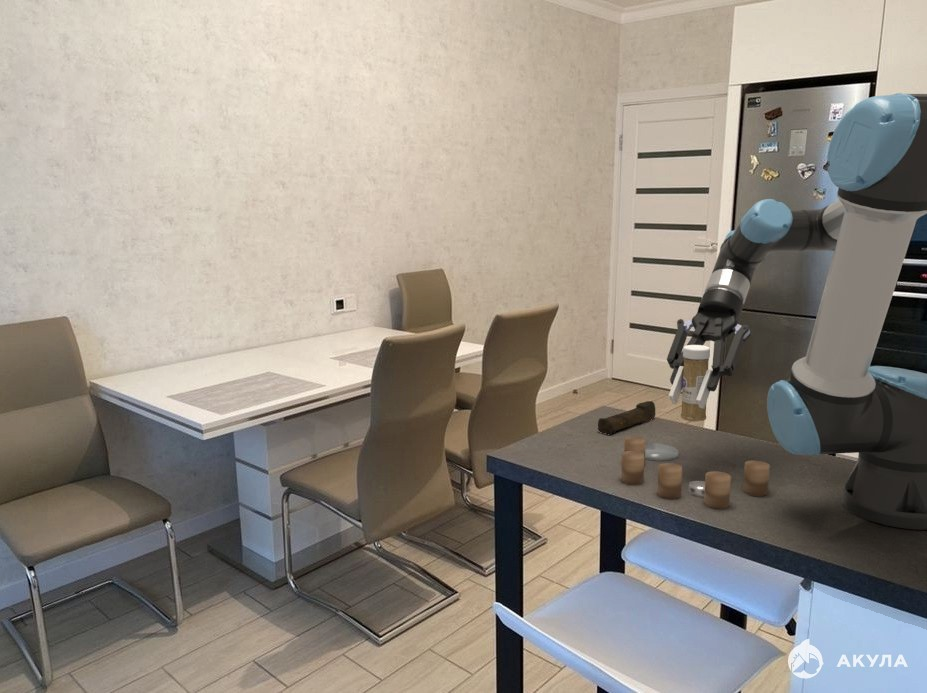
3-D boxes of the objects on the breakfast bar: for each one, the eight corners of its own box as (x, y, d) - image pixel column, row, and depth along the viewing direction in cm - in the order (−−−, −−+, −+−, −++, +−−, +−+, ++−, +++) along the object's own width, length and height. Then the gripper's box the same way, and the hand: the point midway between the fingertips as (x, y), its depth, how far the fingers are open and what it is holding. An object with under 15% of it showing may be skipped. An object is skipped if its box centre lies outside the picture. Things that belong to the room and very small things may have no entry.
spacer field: (772, 492, 123) (774, 465, 122) (700, 517, 114) (702, 488, 113) (662, 451, 145) (663, 428, 144) (594, 469, 136) (595, 444, 135)
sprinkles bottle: (675, 416, 131) (678, 345, 128) (696, 414, 132) (699, 343, 129) (690, 423, 126) (693, 349, 124) (712, 420, 128) (715, 347, 125)
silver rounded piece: (715, 492, 124) (716, 484, 124) (707, 500, 121) (707, 491, 121) (693, 487, 127) (693, 479, 127) (684, 494, 124) (685, 486, 123)
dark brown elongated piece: (610, 437, 155) (611, 417, 154) (596, 433, 158) (597, 413, 157) (664, 421, 166) (665, 402, 166) (650, 417, 170) (651, 398, 169)
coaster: (688, 455, 142) (688, 452, 142) (655, 464, 138) (655, 461, 138) (655, 443, 150) (655, 440, 150) (623, 451, 146) (623, 448, 146)
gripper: (774, 314, 132) (740, 421, 123) (684, 308, 143) (646, 405, 133) (767, 289, 127) (731, 398, 118) (674, 284, 138) (634, 383, 128)
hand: (686, 401), depth 126 cm, fingers closed on sprinkles bottle, 4 cm apart
